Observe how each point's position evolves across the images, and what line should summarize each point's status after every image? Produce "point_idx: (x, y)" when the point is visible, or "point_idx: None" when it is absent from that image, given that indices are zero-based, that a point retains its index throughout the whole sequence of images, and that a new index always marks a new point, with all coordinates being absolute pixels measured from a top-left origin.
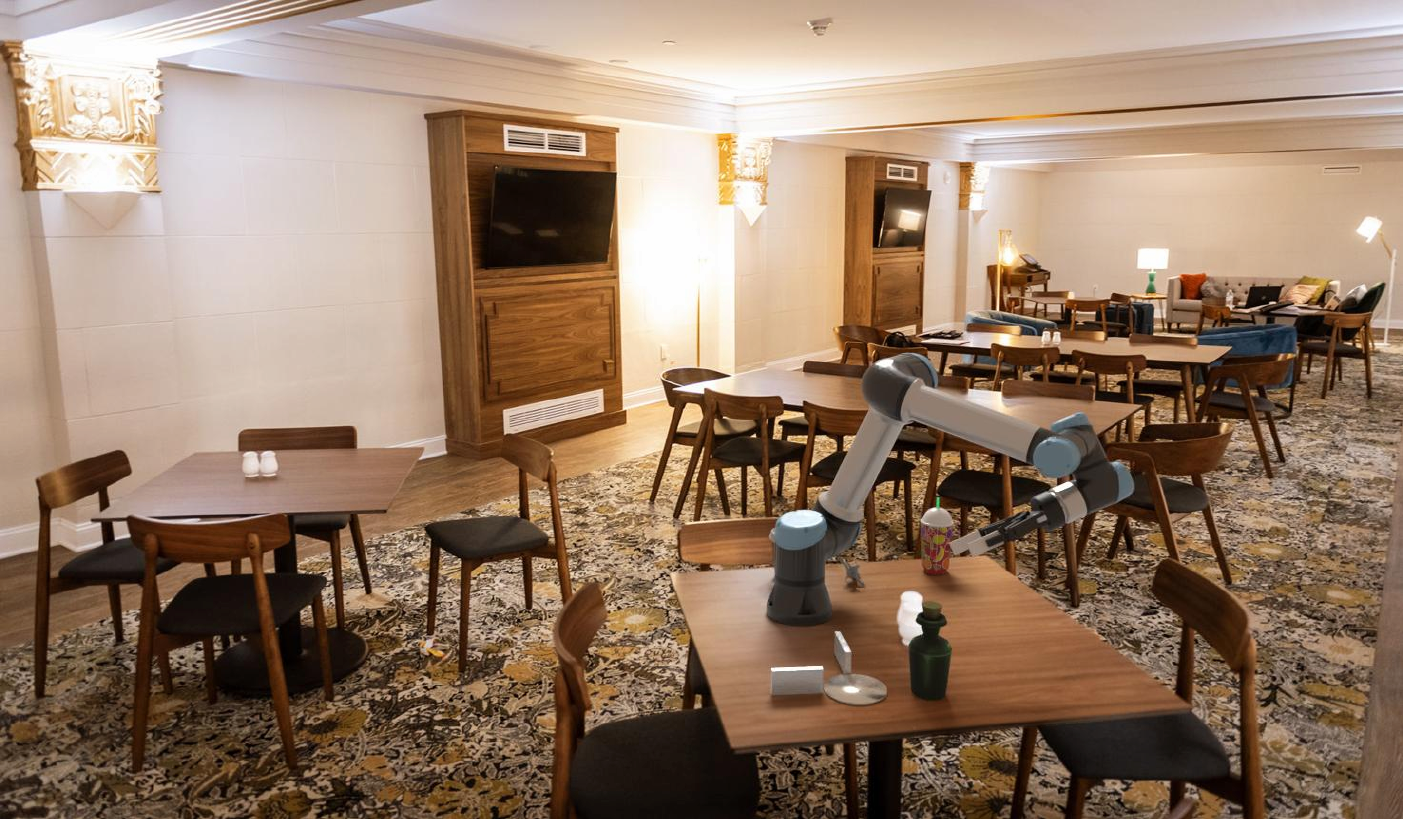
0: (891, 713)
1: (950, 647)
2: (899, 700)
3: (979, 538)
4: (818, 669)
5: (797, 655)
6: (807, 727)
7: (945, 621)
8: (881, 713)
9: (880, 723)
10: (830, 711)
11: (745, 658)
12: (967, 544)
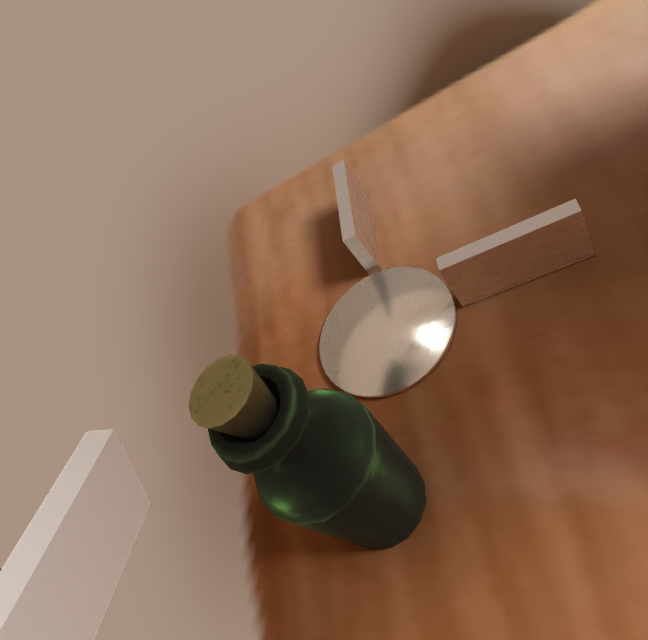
0: None
1: (287, 515)
2: None
3: (51, 516)
4: (342, 233)
5: (555, 175)
6: (252, 284)
7: (229, 462)
8: None
9: None
10: (300, 304)
11: (512, 101)
12: (93, 433)
